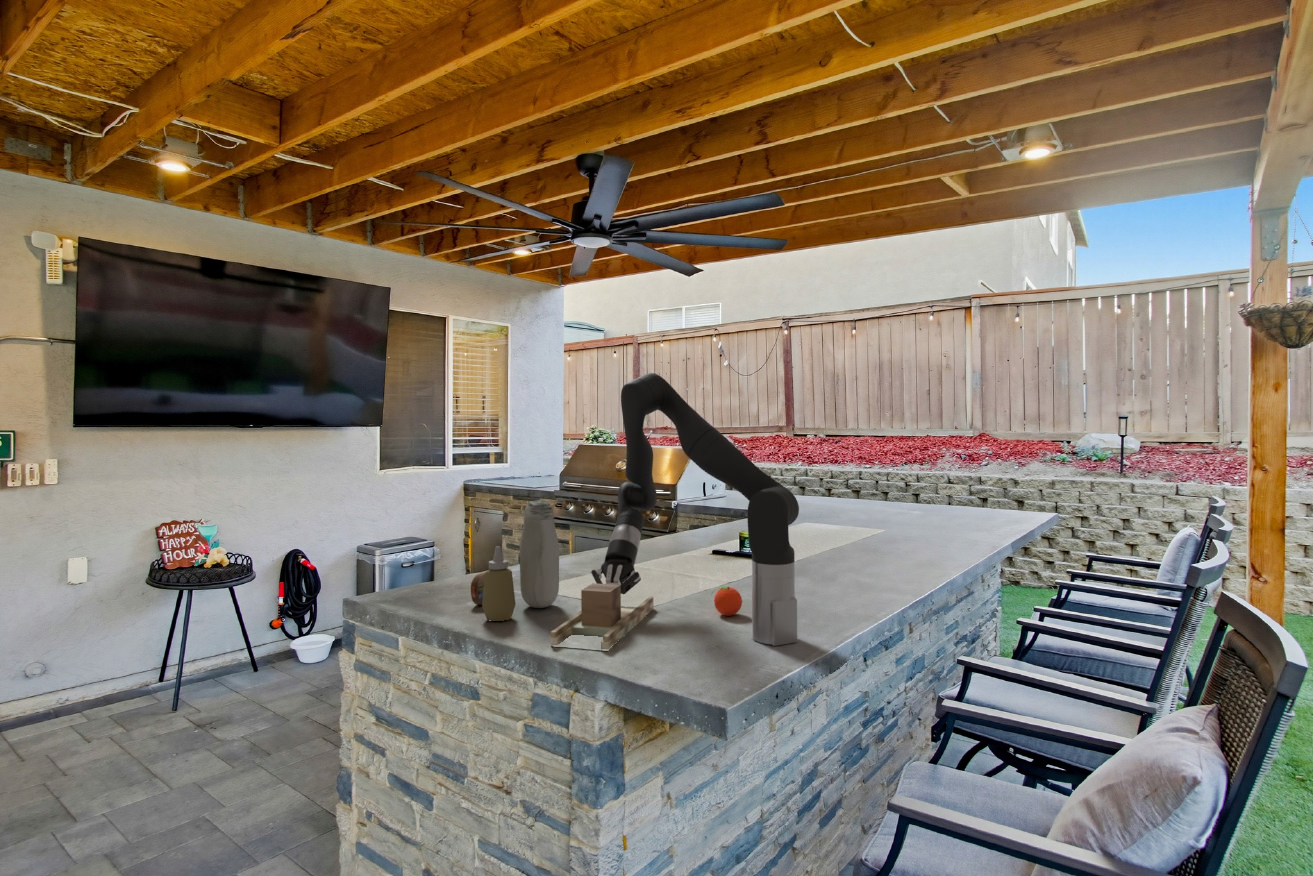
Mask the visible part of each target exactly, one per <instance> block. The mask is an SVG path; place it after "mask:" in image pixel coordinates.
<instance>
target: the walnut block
mask: <svg viewBox="0 0 1313 876" xmlns="http://www.w3.org/2000/svg"><path fill="white" fill-rule="evenodd" d="M580 591H581V593H580V596H581V597H580V598H581V599H580V601H581V602H580V603H581V606H580V607H581V610H580V611H581V613H582V625H584V626H597V627H610V628H611V627H612V626H613V625H614V624H615V623H617V622H618V621H619V620H620V619H621V606H622V605H621V603H622V600H621V599H622V598H621V597H622V596H621V595H622V594H621V585H613V584H606V583H603V584H597V583H596V582H593V583H591V584H589V585H587V586H586V587H584V588H583V589H581V590H580Z"/></svg>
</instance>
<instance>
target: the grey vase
mask: <svg viewBox="0 0 1313 876" xmlns="http://www.w3.org/2000/svg"><path fill="white" fill-rule="evenodd" d="M523 514H524V516H523V525H522V526H523V527H522V532H521V536H520V542H519V574H520V576H519V578H520V579H519V580H520V582H519V583H520V585H519V586H520V593H521V597H522V599H523V602H525V604H527V606H529V607H531V608H533V609H544V608H547V607H550V606H552V604H554V603H555V601H556V600H557V597H558V595H559V591H560V590H559V589H560V546H559V540H558V535H557V530H556V526H555V525H556V524H555V520H554V510H553V507H552V505H551V504H550V503H549V502H548V501H546V500H540V499H536V500H535V499H534V500H532V501H530V502H529V503H528V504H526V506H525V509H524V513H523Z"/></svg>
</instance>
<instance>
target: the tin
mask: <svg viewBox="0 0 1313 876" xmlns="http://www.w3.org/2000/svg"><path fill="white" fill-rule="evenodd" d="M486 571H487V570H486ZM486 571H483V572H480V573H479V574H476V575H475V576H474V577H473V578H472V580H471V582H470V595H471V600H472V603H473V604H475V605H477V606H482V602H483V590H484V578H485V572H486Z"/></svg>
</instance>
